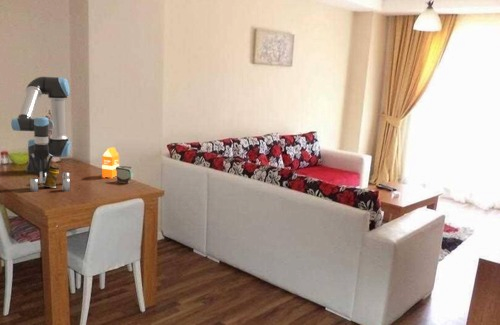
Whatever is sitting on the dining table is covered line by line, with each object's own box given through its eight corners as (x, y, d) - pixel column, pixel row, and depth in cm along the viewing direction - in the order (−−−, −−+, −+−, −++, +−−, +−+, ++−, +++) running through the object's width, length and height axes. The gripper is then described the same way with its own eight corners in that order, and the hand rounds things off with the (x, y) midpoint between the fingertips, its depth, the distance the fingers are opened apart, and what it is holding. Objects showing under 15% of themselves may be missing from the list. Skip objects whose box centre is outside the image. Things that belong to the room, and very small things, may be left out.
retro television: (136, 182, 280) (136, 167, 278) (130, 184, 274) (130, 169, 272) (121, 179, 285) (121, 165, 283) (115, 181, 279) (115, 166, 277)
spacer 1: (31, 189, 248) (30, 178, 246) (38, 189, 249) (38, 178, 247) (29, 191, 244) (29, 179, 243) (37, 191, 245) (37, 179, 244)
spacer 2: (40, 183, 263) (39, 172, 262) (47, 183, 264) (47, 172, 263) (39, 184, 260) (38, 173, 258) (46, 184, 261) (45, 173, 259)
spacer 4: (62, 189, 252) (62, 178, 251) (70, 189, 254) (69, 178, 252) (61, 191, 249) (61, 179, 247) (69, 191, 250) (69, 179, 249)
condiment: (56, 188, 255) (61, 169, 254) (41, 185, 250) (46, 166, 249) (54, 184, 261) (59, 166, 260) (39, 182, 256) (44, 163, 255)
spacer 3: (63, 183, 267) (62, 172, 266) (69, 183, 268) (69, 172, 267) (62, 184, 263) (61, 173, 262) (69, 184, 264) (68, 173, 263)
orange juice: (102, 177, 288) (101, 148, 285) (109, 174, 297) (109, 146, 293) (112, 178, 287) (112, 149, 283) (119, 175, 295) (119, 147, 292)
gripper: (27, 143, 244) (28, 183, 248) (52, 144, 248) (52, 184, 252) (30, 142, 251) (31, 181, 255) (54, 143, 255) (54, 181, 259)
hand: (41, 182), depth 254 cm, fingers closed
